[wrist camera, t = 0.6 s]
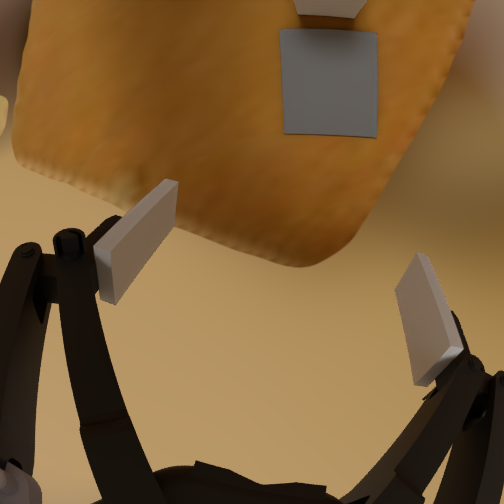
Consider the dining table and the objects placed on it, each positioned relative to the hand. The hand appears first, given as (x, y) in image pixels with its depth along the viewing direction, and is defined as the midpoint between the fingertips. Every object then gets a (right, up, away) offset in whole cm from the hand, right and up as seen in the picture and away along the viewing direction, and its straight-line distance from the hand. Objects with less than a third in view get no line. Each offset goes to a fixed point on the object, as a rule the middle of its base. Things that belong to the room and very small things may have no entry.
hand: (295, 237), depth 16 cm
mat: (+8, +21, +18) cm, 28 cm away
